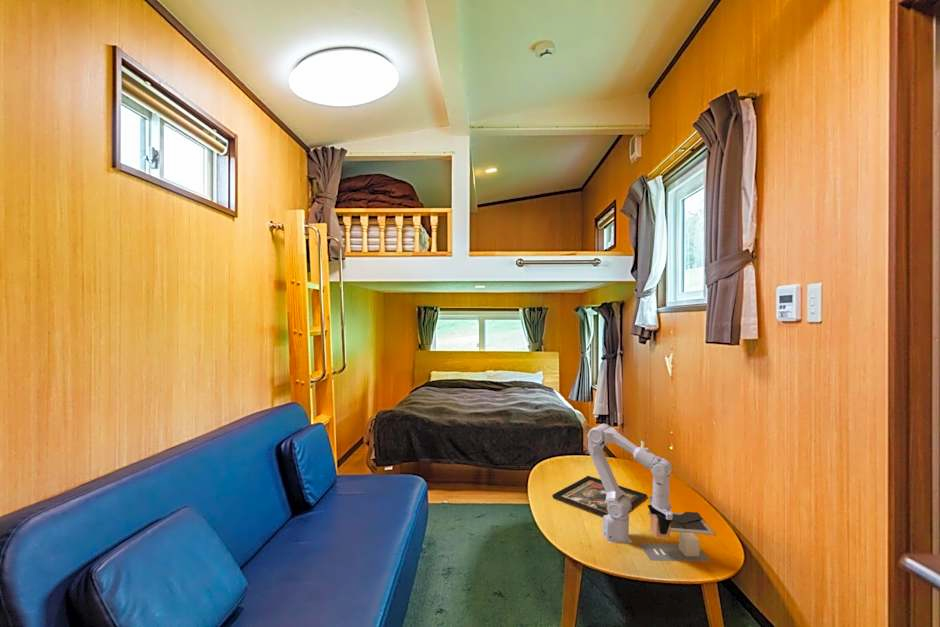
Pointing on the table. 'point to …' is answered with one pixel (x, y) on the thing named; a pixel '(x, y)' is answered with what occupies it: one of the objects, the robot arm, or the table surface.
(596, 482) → the framed painting
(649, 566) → the table surface
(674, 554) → the grey board
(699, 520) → the picture frame
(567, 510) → the table surface
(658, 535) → the terracotta block
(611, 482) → the robot arm
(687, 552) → the tan block
